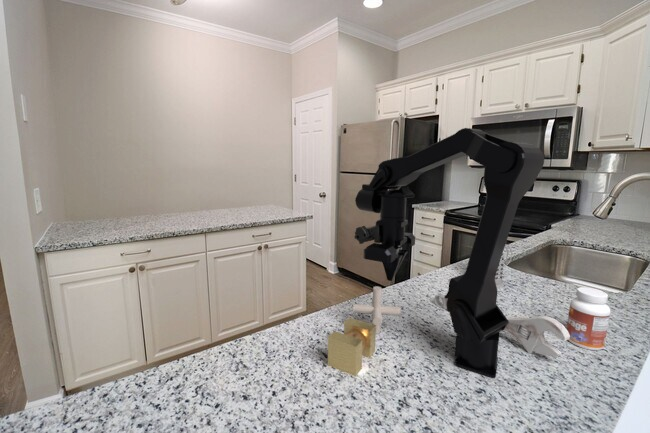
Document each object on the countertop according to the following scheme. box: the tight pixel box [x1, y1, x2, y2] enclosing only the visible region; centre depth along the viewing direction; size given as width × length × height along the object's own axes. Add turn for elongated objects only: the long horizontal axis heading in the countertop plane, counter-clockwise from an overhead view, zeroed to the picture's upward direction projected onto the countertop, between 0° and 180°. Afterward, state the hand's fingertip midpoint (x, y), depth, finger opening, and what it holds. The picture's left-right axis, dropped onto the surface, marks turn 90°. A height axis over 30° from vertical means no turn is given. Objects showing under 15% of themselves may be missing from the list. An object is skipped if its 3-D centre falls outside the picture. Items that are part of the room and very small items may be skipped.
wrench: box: [433, 293, 570, 358], centre depth 67 cm, size 8×2×30 cm
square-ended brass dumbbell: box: [327, 317, 377, 377], centre depth 57 cm, size 8×6×6 cm, turn 148°
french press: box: [495, 243, 513, 289], centre depth 93 cm, size 10×12×25 cm
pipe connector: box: [352, 285, 402, 335], centre depth 66 cm, size 10×10×10 cm
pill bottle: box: [565, 286, 611, 351], centre depth 62 cm, size 6×6×11 cm
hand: (390, 280), depth 73 cm, fingers closed
